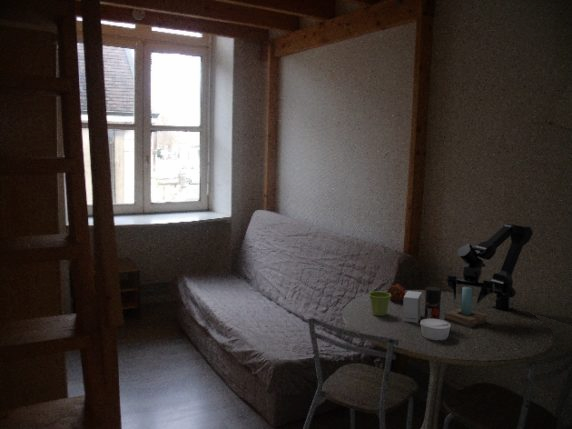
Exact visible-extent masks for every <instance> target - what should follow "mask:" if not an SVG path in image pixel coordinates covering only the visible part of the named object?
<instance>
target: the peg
mask: <svg viewBox="0 0 572 429" xmlns="http://www.w3.org/2000/svg"><path fill="white" fill-rule="evenodd" d="M473 290H474V289H473V288H472V286H462V291H461V292H462V293H461V307H460V308H461V315H464V316H467V317H469V316H471V311H472V308H473V307H472V305H473V304H472V303H473Z"/></svg>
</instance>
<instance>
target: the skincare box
mask: <svg viewBox="0 0 572 429" xmlns="http://www.w3.org/2000/svg"><path fill="white" fill-rule="evenodd" d="M402 301H403V304H402V305H403V306H402V307H403V308H402V310H403V312H402V321H403V322H408V323H416V324H418V323H420V322H419V321H421V318H422V311H423V309H422V306H423V302H422V301H423V292H422V291H413V290H407V292H405V296H404V299H403V300H402Z"/></svg>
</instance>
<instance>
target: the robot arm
mask: <svg viewBox="0 0 572 429" xmlns="http://www.w3.org/2000/svg"><path fill="white" fill-rule="evenodd" d="M533 233H534V232H533V230H532V228H531V226H528V225H520V224H513V223H509V222H508V223H504V224H503V226H502V227H501V228H499V230H498V231H497V232H496V233H495V234H493V236H491V237H489V239H487V240H485V241H481V242H480V243H478V244H477V245H475V247H473V245H472V244H470V243H466V244H465V245H463V246H462V245H461V247H460V248H458V250H457V252H456V253H457V255H458V256H459V258H460V259H461V260H462V261H463V262H464V264H468V265H467V266H463V268H462V278H463V279H459V278H458V277H459V276H458V275H452V274H449V275H448V276H447V277H446V282H447V285H448V287H449V288H450V289H452V291H453V299H454V301H456V299H457V296H458V291H459V285H460V286H461V285H463V286H466V287H474V288H480V292H479V294H478V297H477V301H476V303H477V305H478V304H479V303H481V302H482V300H484V298H486V297H487V296H488V295H489V296H490V295H491V294H495V295H496V297H495V305H492V306H491V307H492V308H494V309H498V310H502V311H508V310H511V309H513V306H510V303H511V298H513V297H515V296H516V294H517V292H516V290H515V289H514V287H513V284H514V282H513V277H512V275H513V273H514V270H515V267H516V265H517V262H518V261H519V257H520V255H521V252H522V250H523V246H525V245H526V244H527V243H529V242H530V240H531V238H532V236H533ZM508 238H510V240H511V243H510V245H509V248H508V250H507V253H506V256H505V259H504V260H503V263H502V265H501V269H500V271H498V272H497V273H496V272H494V273H493V275H492V278H491V280H487V279H484V280H483V282H480V279H481V276H482V272H483V271H482V269H483V268H485V267H486V264H485V262H484V260H488V261H489V260H491V259H492V258H493V257H494V256H495V255H496V252H497V249H498V248H499V247H500V246H501V245H502V244H503V243H504V242H506V240H508Z"/></svg>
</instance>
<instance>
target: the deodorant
mask: <svg viewBox="0 0 572 429" xmlns="http://www.w3.org/2000/svg"><path fill="white" fill-rule="evenodd" d="M441 297H442V289H441V288H440V287H436V286H427V287H425V297H424V298H425V300H424V302H425V303H424V319H439V320H441V317H440V316H441V302H442V301H441V299H442V298H441ZM424 319H423V320H424Z"/></svg>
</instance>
